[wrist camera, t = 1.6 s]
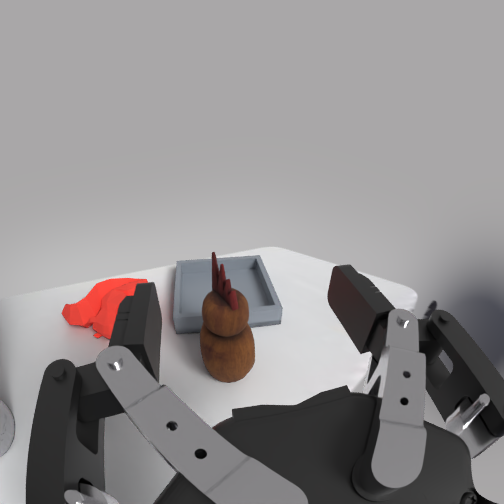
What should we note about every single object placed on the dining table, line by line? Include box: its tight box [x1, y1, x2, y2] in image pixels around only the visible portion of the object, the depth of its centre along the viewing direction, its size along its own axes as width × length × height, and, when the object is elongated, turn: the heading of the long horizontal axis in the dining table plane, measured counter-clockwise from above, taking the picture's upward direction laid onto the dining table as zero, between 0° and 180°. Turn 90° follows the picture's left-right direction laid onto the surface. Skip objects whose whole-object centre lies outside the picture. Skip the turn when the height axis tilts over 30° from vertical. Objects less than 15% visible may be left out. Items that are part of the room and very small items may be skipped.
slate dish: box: [173, 255, 282, 334], centre depth 42 cm, size 15×15×3 cm
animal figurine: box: [62, 278, 148, 339], centre depth 35 cm, size 12×15×5 cm
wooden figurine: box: [200, 252, 255, 383], centre depth 27 cm, size 7×6×15 cm
